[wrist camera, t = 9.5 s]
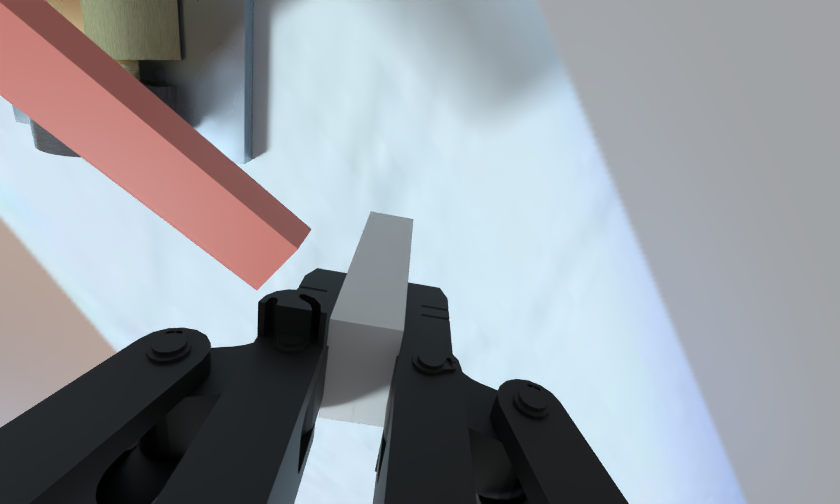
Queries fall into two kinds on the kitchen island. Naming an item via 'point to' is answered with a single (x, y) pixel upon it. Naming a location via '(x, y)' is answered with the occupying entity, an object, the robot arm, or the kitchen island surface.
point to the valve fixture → (175, 62)
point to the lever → (140, 142)
